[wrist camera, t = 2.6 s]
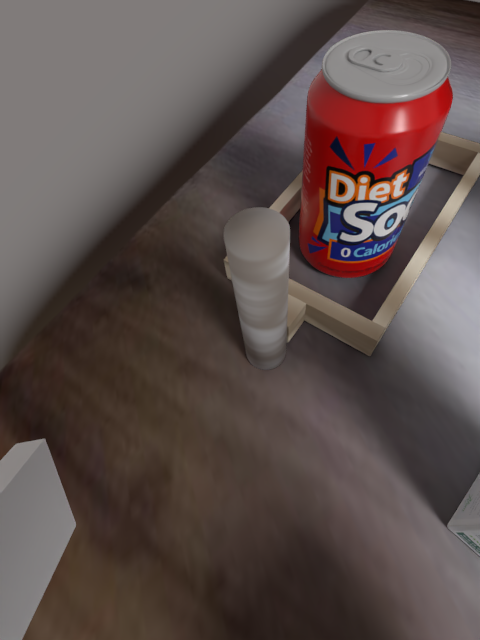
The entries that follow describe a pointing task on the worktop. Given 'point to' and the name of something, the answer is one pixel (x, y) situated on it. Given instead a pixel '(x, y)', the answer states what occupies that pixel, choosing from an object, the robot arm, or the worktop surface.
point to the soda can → (368, 146)
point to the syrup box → (468, 518)
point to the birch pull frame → (303, 303)
